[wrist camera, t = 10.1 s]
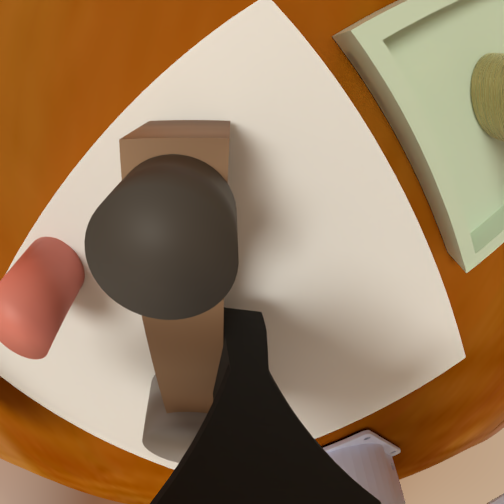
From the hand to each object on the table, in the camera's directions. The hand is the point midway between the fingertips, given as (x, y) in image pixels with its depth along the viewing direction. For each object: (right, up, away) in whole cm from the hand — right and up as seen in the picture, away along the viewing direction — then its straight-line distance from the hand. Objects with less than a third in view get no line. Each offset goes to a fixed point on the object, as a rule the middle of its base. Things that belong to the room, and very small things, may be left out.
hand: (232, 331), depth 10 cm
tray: (+9, +8, -2) cm, 12 cm away
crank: (-1, 0, +1) cm, 2 cm away
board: (-2, -3, +4) cm, 5 cm away
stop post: (-6, +2, 0) cm, 7 cm away
